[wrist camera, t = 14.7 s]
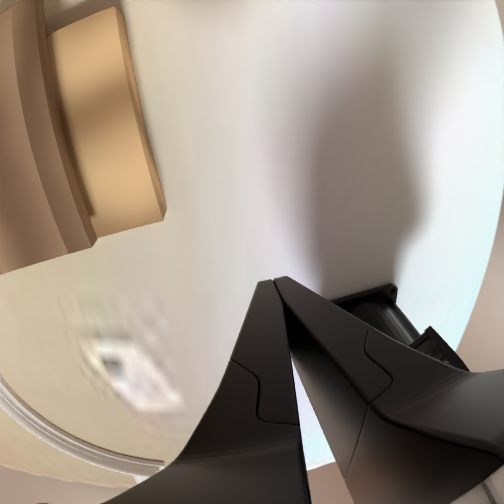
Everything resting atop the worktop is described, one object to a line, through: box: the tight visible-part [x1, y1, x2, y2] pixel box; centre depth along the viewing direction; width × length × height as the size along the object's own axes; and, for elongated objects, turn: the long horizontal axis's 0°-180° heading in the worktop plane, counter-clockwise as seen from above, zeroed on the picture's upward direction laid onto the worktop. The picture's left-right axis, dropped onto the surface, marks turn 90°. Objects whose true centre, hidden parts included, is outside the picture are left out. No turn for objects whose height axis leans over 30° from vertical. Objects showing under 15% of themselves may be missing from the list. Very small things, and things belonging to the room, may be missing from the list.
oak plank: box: [46, 6, 167, 238], centre depth 14 cm, size 12×5×2 cm, turn 10°
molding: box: [0, 375, 166, 484], centre depth 27 cm, size 42×12×3 cm, turn 36°
